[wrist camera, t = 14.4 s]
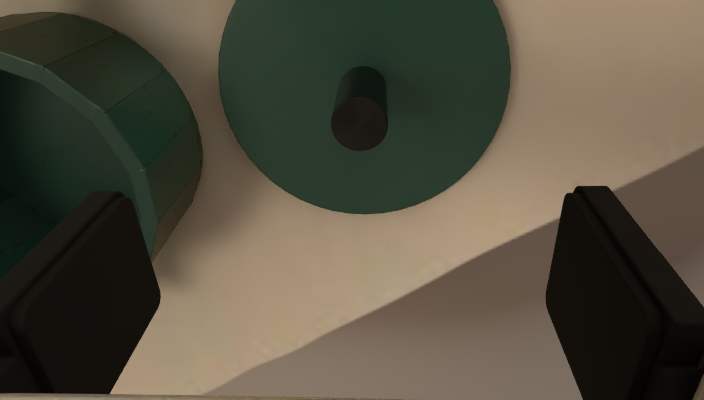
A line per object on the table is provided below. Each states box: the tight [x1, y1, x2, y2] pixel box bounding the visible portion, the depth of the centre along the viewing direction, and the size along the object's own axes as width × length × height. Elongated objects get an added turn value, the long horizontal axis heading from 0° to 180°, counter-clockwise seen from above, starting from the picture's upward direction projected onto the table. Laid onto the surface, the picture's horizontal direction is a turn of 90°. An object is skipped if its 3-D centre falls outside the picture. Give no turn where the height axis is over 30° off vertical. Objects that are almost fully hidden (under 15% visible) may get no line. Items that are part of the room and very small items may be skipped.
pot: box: [0, 12, 202, 281], centre depth 26 cm, size 14×19×7 cm
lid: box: [218, 0, 511, 214], centre depth 24 cm, size 15×15×6 cm
